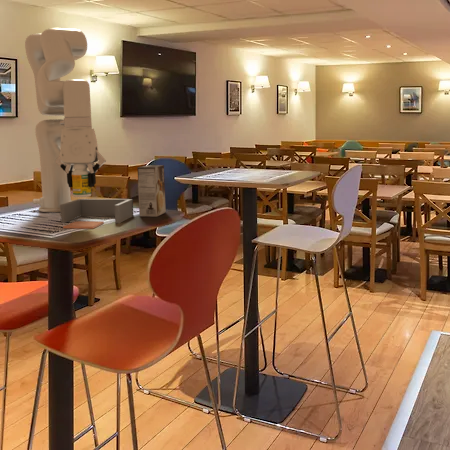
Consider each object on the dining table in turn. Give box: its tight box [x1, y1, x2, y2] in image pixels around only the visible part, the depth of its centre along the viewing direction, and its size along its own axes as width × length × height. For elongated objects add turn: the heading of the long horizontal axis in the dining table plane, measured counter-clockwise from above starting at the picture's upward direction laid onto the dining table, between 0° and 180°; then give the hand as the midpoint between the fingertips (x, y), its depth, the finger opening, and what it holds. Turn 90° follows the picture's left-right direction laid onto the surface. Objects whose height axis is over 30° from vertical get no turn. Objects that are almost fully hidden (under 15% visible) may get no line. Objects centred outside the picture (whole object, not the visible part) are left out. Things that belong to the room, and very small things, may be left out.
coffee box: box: [137, 164, 167, 218], centre depth 193 cm, size 9×6×16 cm
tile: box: [63, 220, 105, 229], centre depth 173 cm, size 9×9×1 cm
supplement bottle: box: [72, 163, 92, 198], centre depth 171 cm, size 5×5×10 cm
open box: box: [59, 198, 134, 224], centre depth 185 cm, size 18×15×6 cm
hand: (81, 186), depth 171 cm, fingers closed on supplement bottle, 5 cm apart
